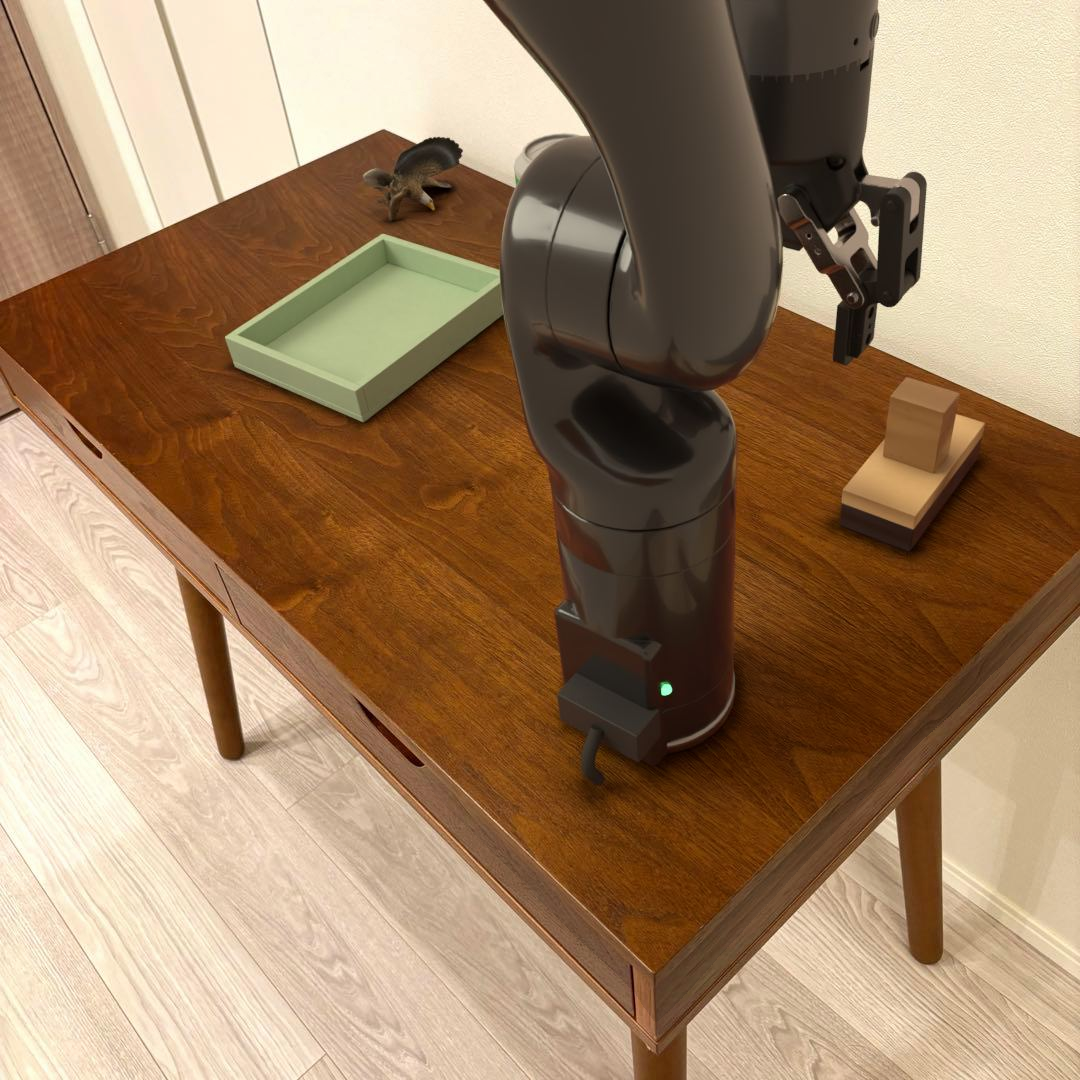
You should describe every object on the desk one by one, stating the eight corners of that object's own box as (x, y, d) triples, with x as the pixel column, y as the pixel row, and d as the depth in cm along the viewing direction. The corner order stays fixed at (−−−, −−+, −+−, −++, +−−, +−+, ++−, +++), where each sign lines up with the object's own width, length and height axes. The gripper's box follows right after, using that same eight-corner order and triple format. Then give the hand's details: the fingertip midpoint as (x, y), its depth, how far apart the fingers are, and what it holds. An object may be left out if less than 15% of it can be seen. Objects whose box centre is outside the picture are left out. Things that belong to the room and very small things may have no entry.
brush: (909, 552, 74) (925, 454, 68) (838, 525, 77) (848, 428, 71) (978, 459, 80) (998, 361, 74) (910, 436, 82) (924, 340, 77)
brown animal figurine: (433, 221, 111) (481, 166, 115) (382, 163, 108) (434, 108, 112) (394, 244, 117) (441, 190, 121) (345, 189, 114) (395, 136, 118)
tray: (363, 422, 90) (355, 391, 88) (234, 367, 98) (224, 336, 96) (516, 304, 101) (512, 273, 99) (389, 262, 109) (382, 233, 107)
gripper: (615, 43, 54) (632, 334, 65) (901, 92, 47) (865, 410, 58) (700, -10, 58) (702, 273, 69) (975, 28, 51) (928, 336, 62)
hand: (777, 335), depth 63 cm, fingers open, 8 cm apart
